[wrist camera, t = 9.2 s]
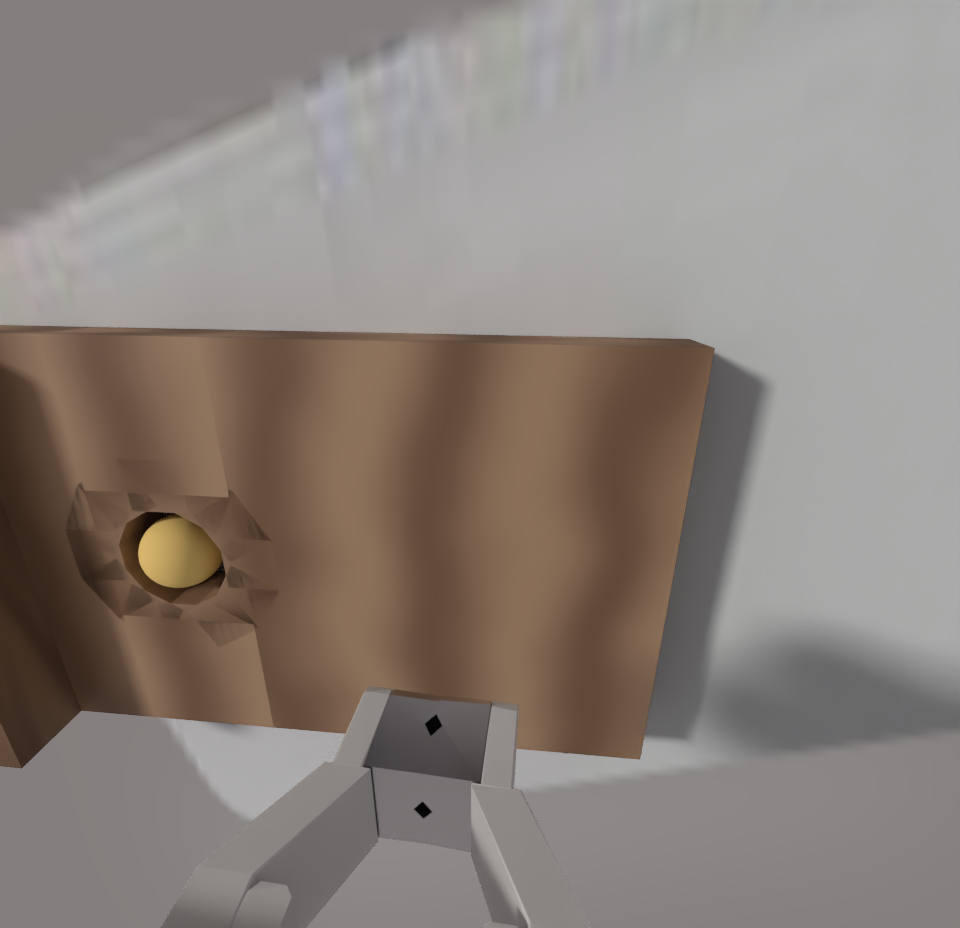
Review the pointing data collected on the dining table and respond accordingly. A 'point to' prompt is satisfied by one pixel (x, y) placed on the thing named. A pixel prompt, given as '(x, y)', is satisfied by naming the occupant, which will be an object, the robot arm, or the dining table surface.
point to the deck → (342, 525)
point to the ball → (178, 553)
